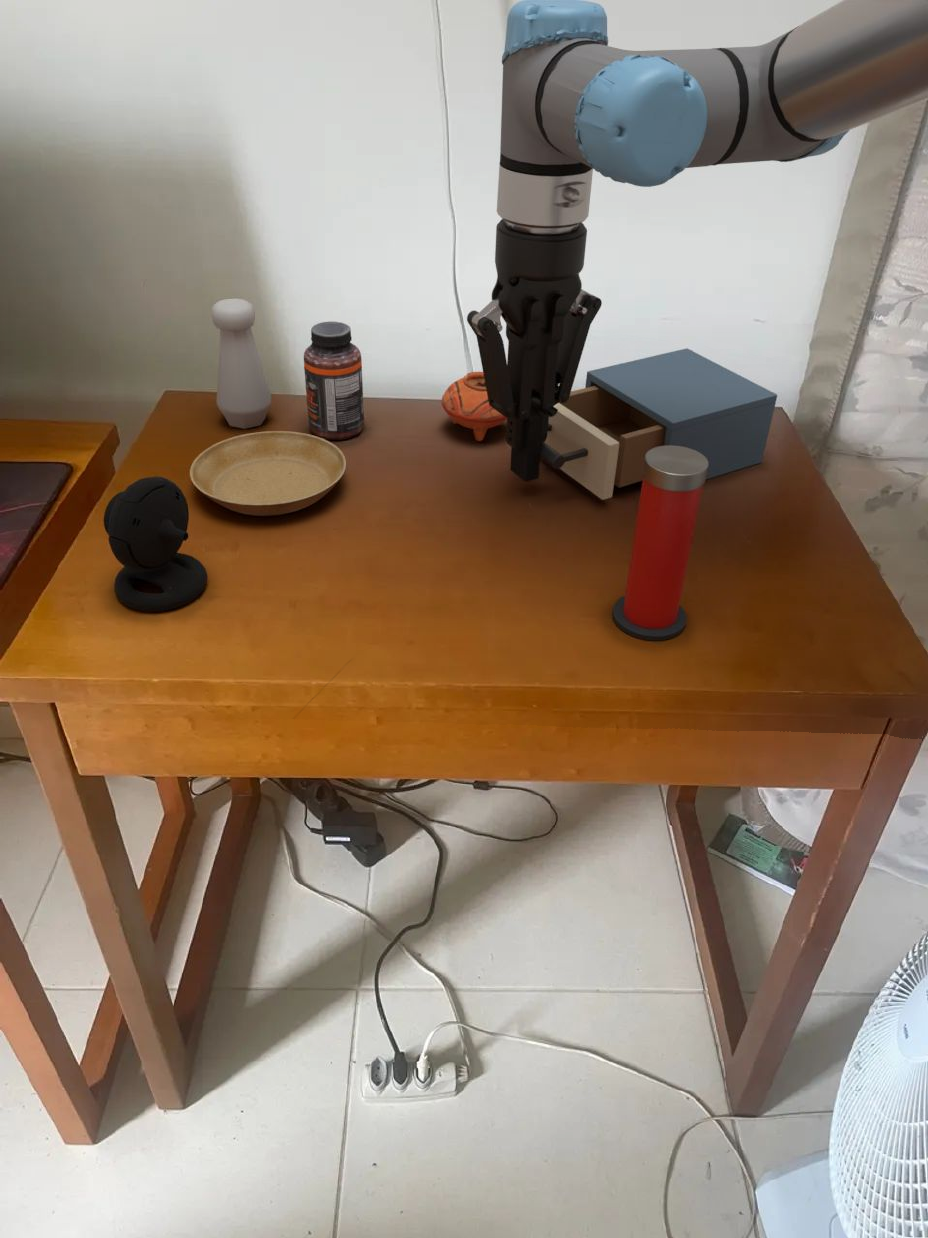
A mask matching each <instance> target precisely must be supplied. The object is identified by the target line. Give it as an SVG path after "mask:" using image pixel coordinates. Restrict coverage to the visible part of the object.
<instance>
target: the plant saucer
mask: <svg viewBox="0 0 928 1238" xmlns="http://www.w3.org/2000/svg"><path fill="white" fill-rule="evenodd" d="M346 467H347V461H346V457H345V455H344V453H343V451H342V450H341V449H340V448H339V447H338V446H337V445H335V444H334V443H332V442H330V441H329V440H328V439H325V438H321V437H319V436H317V435H312V434H309V433H306V432H305V433H304V432H299V431H285V430H269V431H259V432H258V431H257V432H251V433H245V434H244V433H243V434H240V435H236V436H233V437H229V438H226V439H224V440H221V441H218V442H217V443H214V444H212V445H211V446H209V447H208V448H206V449H204V450H203V451H202V452H200V453H199V455H197V456H196V458H195V459H194V460H193V462H192V464H191V466H190V469H189V477H190V480H191V482H192V484H193V485H194V486H195V487H196V488H197V489H198V490H199V491H200V492H201V493H202V494H203V495H204V496H206V497H207V498H208V499H209V500H211V501H213V502H214V503H217V504H218V505H220V506H222V507H224V508H226V509H228V510H230V511H232V512H236V513H239V514H241V515H242V514H243V515H248V516H258V517H268V516H269V517H270V516H271V517H272V516H281V515H285V514H289V513H294V512H297V511H300V510H303V509H306V508H308V507H310V506H312V505H314V504H315V503H317V502H318V501H320V500H321V499H323V498H324V497H325V496H326V495H327V494H329V492H330V491H331V490H332V489H334V487H335V486H336V485H337V484H338V483H339V481H340V480H341V478H342V477H343V475H344V474H345V471H346Z"/></svg>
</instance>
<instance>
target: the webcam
mask: <svg viewBox="0 0 928 1238" xmlns="http://www.w3.org/2000/svg"><path fill="white" fill-rule="evenodd" d="M189 512H190V511H189V504H188V501H187V498H186V496H185V494H184V492H183V491H182V489H181V488H180V487H179V486H178V485H177V484H176V483H175V482H174V481H172V480H170V479H168V478H166V477H162V476H157V475H156V476H155V475H154V476H150V477H149V476H148V477H143V478H142V477H141V478H139V479H137V480H136V481H134V482H133V483H131V484H129V485H128V486H127V487H126V488H125V489H124V490H122V491H120V492H117V493H116V494H115V495H114V496H113V497H112V498H111V499H110V500H109V502H108V503H107V505H106V507H105V510H104V513H103V527H104V530H105V532H106V534H107V535H108V543H109V547H110V550H111V552H112V554H113V556H114V557H115V559H116V560H117V561H118V563H120V564H121V565H122V566H123V567H122V568H121V569H119V571H118V573H117V574H116V576H115V579H114V584H113V587H114V590H113V591H114V594H115V596H116V597H117V599H118V600H119V601H120V602H121V603H122V604H123V605H125V606H127V607H129V608H131V609H134V610H136V611H141V612H164V611H165V612H166V611H169V610H173V609H177V608H179V607H181V606H184V605H186V604H189V603H190V602H192V601H194V600H195V599H197V598H198V597H199V596H200V595H201V593H203V591H204V590H205V588H206V585H207V582H208V573H207V569H206V567H205V566H204V565H203V563H202V562H201V561H200V560H199V559H197V558H195V557H193V556H192V555H189V554H186V553H181V552H179V550H180V549H181V547H182V545H183V542H186V541H187V540H188V539H189V533H188V528H189V527H188V526H189V521H190V519H189V518H190V517H189V515H190V513H189ZM137 579H140V580H144V581H147V582H150V583H153V584H154V585H156V586H158V587H160V588H161V589H162V591H163V592H159V593H147V592H141V591H139V590H136V589H135V588H134V587H133V584H134V583H135V581H137Z"/></svg>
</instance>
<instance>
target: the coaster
mask: <svg viewBox="0 0 928 1238" xmlns="http://www.w3.org/2000/svg"><path fill="white" fill-rule="evenodd" d="M624 599H625V595H623V596H621V597H620V598H618V600H616V601H615V603H614V604H613V607H612V613H611V616H612V620H613V622H614V624H615V625H616V626H617V628H618V629H619V630H621V631H622V632H623V633H625V634H626V635H629V636H631V637H633V638H635V639H639V640H644V641H651V642H657V641H658V642H660V641H661V642H662V641H666V640H670V639H674V638H676V637H677V636H679V635H680V634H681V633H682V632H683V631H684V630H685V628H686V625H687V620H688V617H687V614H686V611H685V609H684V608H683V607H682V606H681V604H680V605H679V610H678V615H677V619H676V621H675V622H674V623H673V624H672V625H670V626H668V627H666V628H661V629H648V628H643V627H640V626H637V625H635V624H633V623H632V622H630V621H629V620H628V619H627V618H626V617H625V615H624V613H623V606H624Z"/></svg>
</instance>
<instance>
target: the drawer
mask: <svg viewBox="0 0 928 1238" xmlns="http://www.w3.org/2000/svg"><path fill="white" fill-rule="evenodd" d="M553 407H555V408H556V409H558V411H557V413H556V415H555V416H553V417H549V422H548V434H547V438H546V441H545V442H542V443H541V451H540V460H542V461H544V462H545V463H546V464H548V465H549V466H550V467H552V468H554V469H555V470H561V471H562V472H563V473H565V474H566V475H568V476H569V477H570V478H572V479H573V480H574V481H576V482H577V483H579V484H580V485H582V486H583V487H584V488H585V489H587V490H588V491H590V492H591V493H592V494H593V495H595V496H596V497H598V498H599V499H600V500H601V501H604V500H607V499H610V498H613V494H614V493H613V492H614V486H615V487H617V488H623V487H626V486H630V485H632V484H637V483H639V482H643V466H644V460H645V455H646V453H647V452H648V451H649V450H651V449H653V448H655V447H659V446H664V442H665V436H666V429H667V427H665V426H664V425H662V424H661V423H659V422H657V421H656V420H654V419H652V418H651V417H649V416H647V415H646V414H644V413H642V412H641V411H639V410H638V409H636V408H634V407H633V406H631V405H629V404H628V403H626V402H624V401H623V400H621V399H619V398H618V397H616V396H615V395H613V394H611V393H610V392H608V391H606V390H605V389H603V388H601V387H600V386H598V385H596V386H592V387H588V388H585V387H584V388H580V389H575V390H571V393H570V396H569V399H568V400H567V402H565V403H560V402H559V403H557V404H556V405H554V406H553Z"/></svg>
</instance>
